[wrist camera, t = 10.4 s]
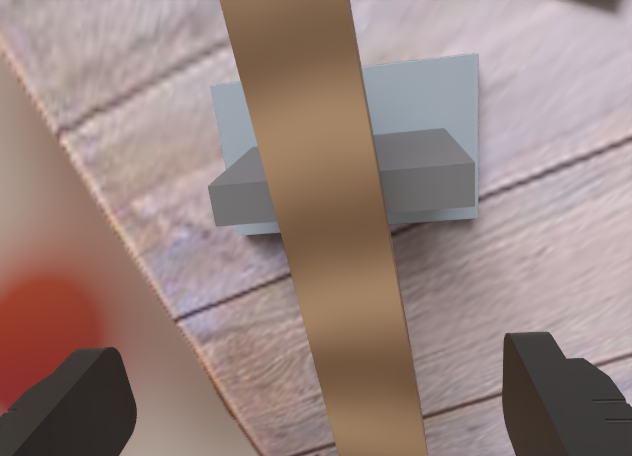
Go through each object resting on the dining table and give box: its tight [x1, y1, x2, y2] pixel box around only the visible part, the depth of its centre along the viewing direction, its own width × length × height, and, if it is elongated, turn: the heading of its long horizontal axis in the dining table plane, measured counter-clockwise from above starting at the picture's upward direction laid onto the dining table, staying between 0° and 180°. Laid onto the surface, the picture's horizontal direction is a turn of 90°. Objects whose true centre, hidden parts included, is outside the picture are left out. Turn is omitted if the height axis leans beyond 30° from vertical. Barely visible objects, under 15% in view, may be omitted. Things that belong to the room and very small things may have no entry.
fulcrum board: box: [208, 53, 479, 236], centre depth 26 cm, size 10×16×10 cm, turn 97°
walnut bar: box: [220, 0, 428, 456], centre depth 20 cm, size 24×4×4 cm, turn 12°
